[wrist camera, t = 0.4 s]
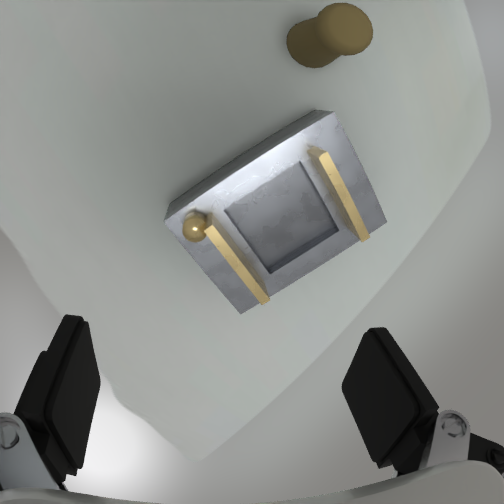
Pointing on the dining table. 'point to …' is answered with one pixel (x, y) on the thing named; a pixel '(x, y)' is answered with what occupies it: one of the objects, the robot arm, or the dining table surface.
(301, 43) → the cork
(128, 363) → the dining table surface
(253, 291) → the grey slotted box
